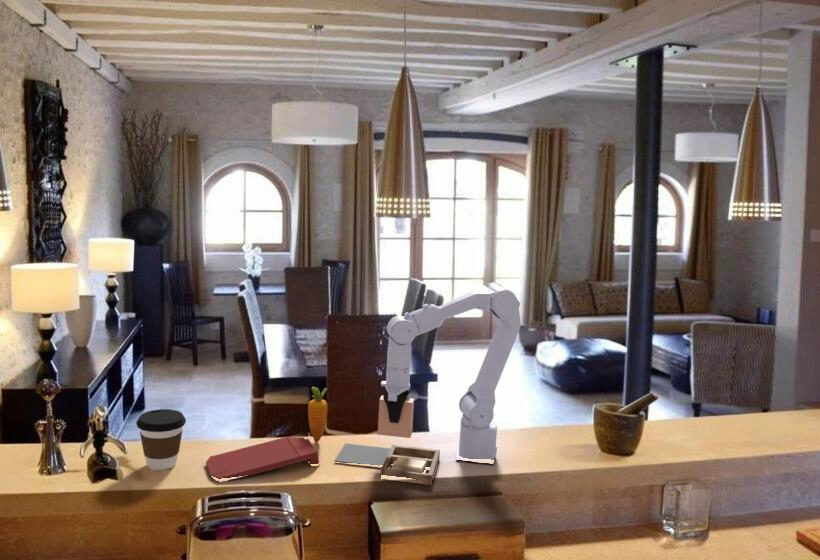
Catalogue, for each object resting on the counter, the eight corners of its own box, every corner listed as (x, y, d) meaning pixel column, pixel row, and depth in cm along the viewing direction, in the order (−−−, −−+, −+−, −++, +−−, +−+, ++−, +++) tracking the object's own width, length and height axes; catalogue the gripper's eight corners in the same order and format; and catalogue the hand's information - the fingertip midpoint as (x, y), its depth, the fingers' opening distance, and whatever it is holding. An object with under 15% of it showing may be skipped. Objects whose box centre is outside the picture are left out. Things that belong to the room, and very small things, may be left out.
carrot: (328, 439, 203) (330, 384, 200) (324, 446, 198) (326, 390, 195) (309, 437, 203) (311, 382, 201) (304, 445, 199) (306, 388, 196)
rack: (439, 459, 194) (439, 450, 194) (431, 485, 180) (432, 475, 179) (391, 454, 196) (392, 444, 196) (380, 479, 181) (380, 469, 181)
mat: (391, 450, 198) (391, 448, 198) (383, 468, 187) (383, 466, 187) (345, 445, 200) (345, 443, 200) (334, 463, 189) (334, 460, 189)
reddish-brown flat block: (216, 499, 176) (322, 469, 185) (212, 479, 175) (319, 450, 184) (207, 476, 187) (307, 449, 196) (204, 457, 186) (305, 431, 195)
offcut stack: (426, 474, 186) (427, 459, 186) (423, 483, 182) (424, 468, 181) (394, 469, 188) (394, 455, 187) (389, 478, 183) (390, 464, 182)
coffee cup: (130, 461, 184) (129, 413, 182) (175, 452, 190) (175, 405, 188) (146, 479, 175) (145, 428, 173) (193, 468, 182) (193, 419, 180)
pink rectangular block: (411, 433, 192) (414, 398, 190) (410, 438, 189) (412, 402, 187) (380, 430, 193) (381, 395, 191) (377, 434, 190) (379, 399, 188)
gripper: (387, 356, 195) (384, 408, 198) (376, 373, 181) (373, 428, 184) (415, 359, 194) (412, 411, 197) (406, 376, 180) (403, 432, 183)
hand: (395, 419), depth 190 cm, fingers closed on pink rectangular block, 3 cm apart
